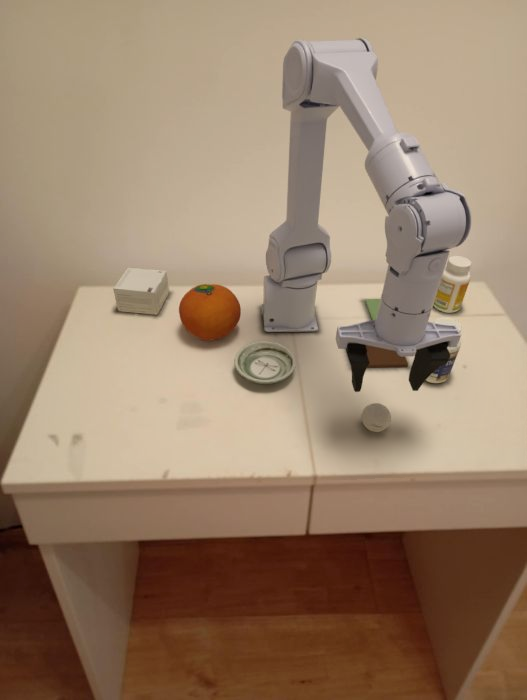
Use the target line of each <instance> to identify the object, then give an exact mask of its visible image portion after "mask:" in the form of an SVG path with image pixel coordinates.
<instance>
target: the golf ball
mask: <svg viewBox="0 0 527 700" xmlns="http://www.w3.org/2000/svg"><path fill="white" fill-rule="evenodd" d="M361 421H362V424H363V426H365V428H366V429H367V430H369V431H371V432H373V433H374V432H376V433H379V432H383V431H385V430H386V429H387V428H388V427H389V426H390V424H391V421H392V415H391V412H390V410H389V409H388V408H387V406H386V405H384V404H382V403H379V402H374V403H373V402H372V403H370V404H367V406H365V407H364V409H363V410H362V413H361Z"/></svg>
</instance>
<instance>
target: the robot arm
mask: <svg viewBox="0 0 527 700" xmlns="http://www.w3.org/2000/svg"><path fill="white" fill-rule="evenodd" d="M378 63H379V58H378V56H377V55H376V53H375V52H374V49H373V46H372V44H371V42H370V41H369V40H368V39H366V38H365V37H359V38H355V39H336V40H335V39H334V40H331V39H330V40H303V39H296V40H294V41H293V42H292V43H291V46H290V47H289V49H288V50H287V52H286V54H285V55H284V56H283V63H282V85H281V86H282V90H281V92H282V93H281V98H282V109H283V110H285V111H288V112H290V117H289V118H290V121H289V122H290V123H289V143H288V144H289V145H288V167H287V169H288V170H287V193H286V194H287V195H286V219H285V220H284V222H283V223H282V224H280V225H278V227H276V228H275V229H274V230H273V231H271V232H270V234H269V236H268V237H269V238H268V244H267V249H266V251H265V265H266V269H267V272H268V273H267V274H268V275H264V276H263V291H262V292H263V293H262V296H263V297H262V304H261V315H263V326H264V327H263V329H264V331H265V332H267V333H289V332H290V333H291V332H292V333H293V332H294V333H296V332H317V331H318V330H319V326H318V322H317V317H316V313H315V309H316V299H317V290H318V281H322V279H323V274H326V273H327V272H328V271H329V269H330V267H331V264H332V251H331V236H330V234H329V233H328V231H327V230H326V228H324V227H323V226H321V225H320V224H319V217H320V216H319V215H320V206H321V193H322V182H323V170H324V169H323V168H324V160H325V159H324V158H325V145H326V135H327V134H326V133H327V124H328V119H329V118H330V117H331V116H332V114H333V113H334V112H336V110H337V109H339V108H340V109H341V110H342V112H343V114H344V115H345V117H346V118H347V120H348V121H349V123H350V124H351V126H352V128H353V129H354V131H355V133H356V134H357V135H358V137H359V138H360V140H361V141H362V143H363V145H364V146H365V147H366V149H367V155H366V157H365V159H364V169H365V172H366V173H367V176H368V177H369V180H370V181H371V183H372V185H373V187H374V189H375V192H376V193H377V195H378V197H379V200H380V201H381V203H382V205H383V207H384V209H385V211H386V213H387V215H386V216H385V219H384V233H385V239H386V251H385V261H386V263H387V268H386V269H387V270H386V274H385V279H384V283H383V288H382V293H381V296H380V299H381V301H380V305H379V310H378V314H377V319H374V320H372V319H371V320H367V321H363V322H359V323H355V324H350V325H343V326H341V325H340V326H337V327H336V333H335V342H336V346H337V349H338V350H345V352H346V355H347V359H348V362H349V364H350V369H351V385H352V388H353V391H354V392H355V393H359V392H361V390H362V387H363V380H364V376H365V374H366V369H368V367H367V366H368V365H369V363H370V362H369V359H368V356H367V349H366V345H369V346H374V347H379V348H383V349H388V350H393V351H396V352H397V354H398V355H399V356H402V357H405V358H407V357H414V358H413V361H412V365H411V368H410V371H409V375H408V383H409V385H410V388H411V390H412V391H413V392H418V391H419V389H420V388H421V387H422V386H423V384H424V383H425V382H426V381H425V380H426V379H427V378H428V377H429V376H430V375H431V374H432V373H433V372H434V371H435V370H436V369H438V368H439V367H441V366H442V365H444V364H446V363H448V361H449V358H450V353H449V351H448V349H447V347H457V345H458V343H459V340H461V337H462V334H461V332H459V330H458V329H457V327H456V325H443V324H437V323H434V322H432V321H431V322H430V321H429V320H430V318H431V317H430V316H431V313H432V310H433V307H434V306H433V304H434V301H435V298H436V294H437V291H438V288H439V285H440V281H441V278H442V275H443V272H444V268H445V267H446V266H447V262H448V259H449V256H450V252H451V251H450V250H452V249H453V248H457V247H460V246H461V245H462V244H464V242H466V240H467V238H468V236H469V234H470V232H471V227H472V212H471V209H470V205H469V203H468V201H467V197H466V196H465V194H463V192H461V191H459V190H458V189H456V188H455V189H454V188H450V187H449V186H448V183H444V182H440V180H439V178H438V177H437V175H436V174H435V172H434V170H433V168H432V166H431V165H430V163H429V161H428V159H427V158H426V156H425V154H424V152H423V150H422V148H421V147H420V146H421V144H420V143H419V141H418V139H417V138H416V136H414V135H412V134H411V133H408V132H398V129H397V127H396V125H395V122H394V120H393V118H392V115H391V113H390V110H389V108H388V106H387V104H386V101H385V99H384V97H383V94H382V92H381V90H380V87H379V85H378V82H377V75H378V66H379V64H378Z"/></svg>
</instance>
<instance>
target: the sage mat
mask: <svg viewBox="0 0 527 700" xmlns="http://www.w3.org/2000/svg"><path fill="white" fill-rule="evenodd" d="M380 301H381V298H365V300H364V303H365V305H366V309H367V310H368V313H369V316H370V318H371V320H374V319H377V314H378V310H379V305H380Z"/></svg>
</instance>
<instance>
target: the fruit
mask: <svg viewBox="0 0 527 700" xmlns="http://www.w3.org/2000/svg"><path fill="white" fill-rule="evenodd" d="M241 311H242V310H241V304H240V301H239V298H238V297H237V296H236V295H235V293H234V292H233V291H232V290H230V289H229V288H228V287H227V286H224V285H220V284H216V283H214V284H209V283H203V284H198V285H196V286H194V287H191V288H190V290H189V291H187V292H186V293H185V294H184V295H183V296H182V298H181V300H180V302H179V306H178V313H179V318H180V322H181V324H182V326H183V328H184V329H185V330H186V331H187V332H188V333H189V334H190V335H192V336H194V337H196V338H197V339H200V340H203V341H216V340H219V339H221V338H224V337H226V336H228V335H229V334H231V333H232V332H233V331H234V330H235V328H236V327H237V325H238V324H239V322H240V318H241V313H242V312H241Z"/></svg>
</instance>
